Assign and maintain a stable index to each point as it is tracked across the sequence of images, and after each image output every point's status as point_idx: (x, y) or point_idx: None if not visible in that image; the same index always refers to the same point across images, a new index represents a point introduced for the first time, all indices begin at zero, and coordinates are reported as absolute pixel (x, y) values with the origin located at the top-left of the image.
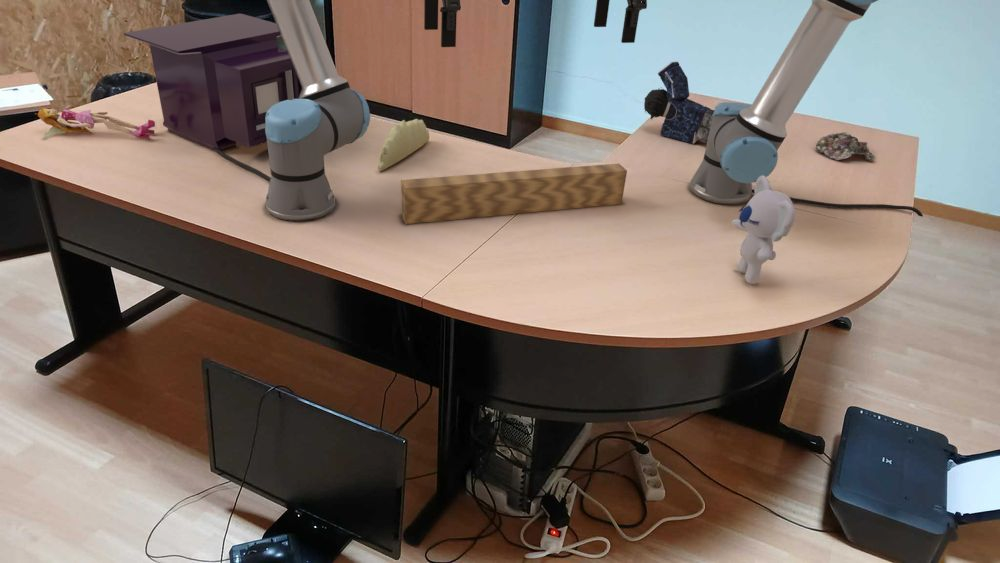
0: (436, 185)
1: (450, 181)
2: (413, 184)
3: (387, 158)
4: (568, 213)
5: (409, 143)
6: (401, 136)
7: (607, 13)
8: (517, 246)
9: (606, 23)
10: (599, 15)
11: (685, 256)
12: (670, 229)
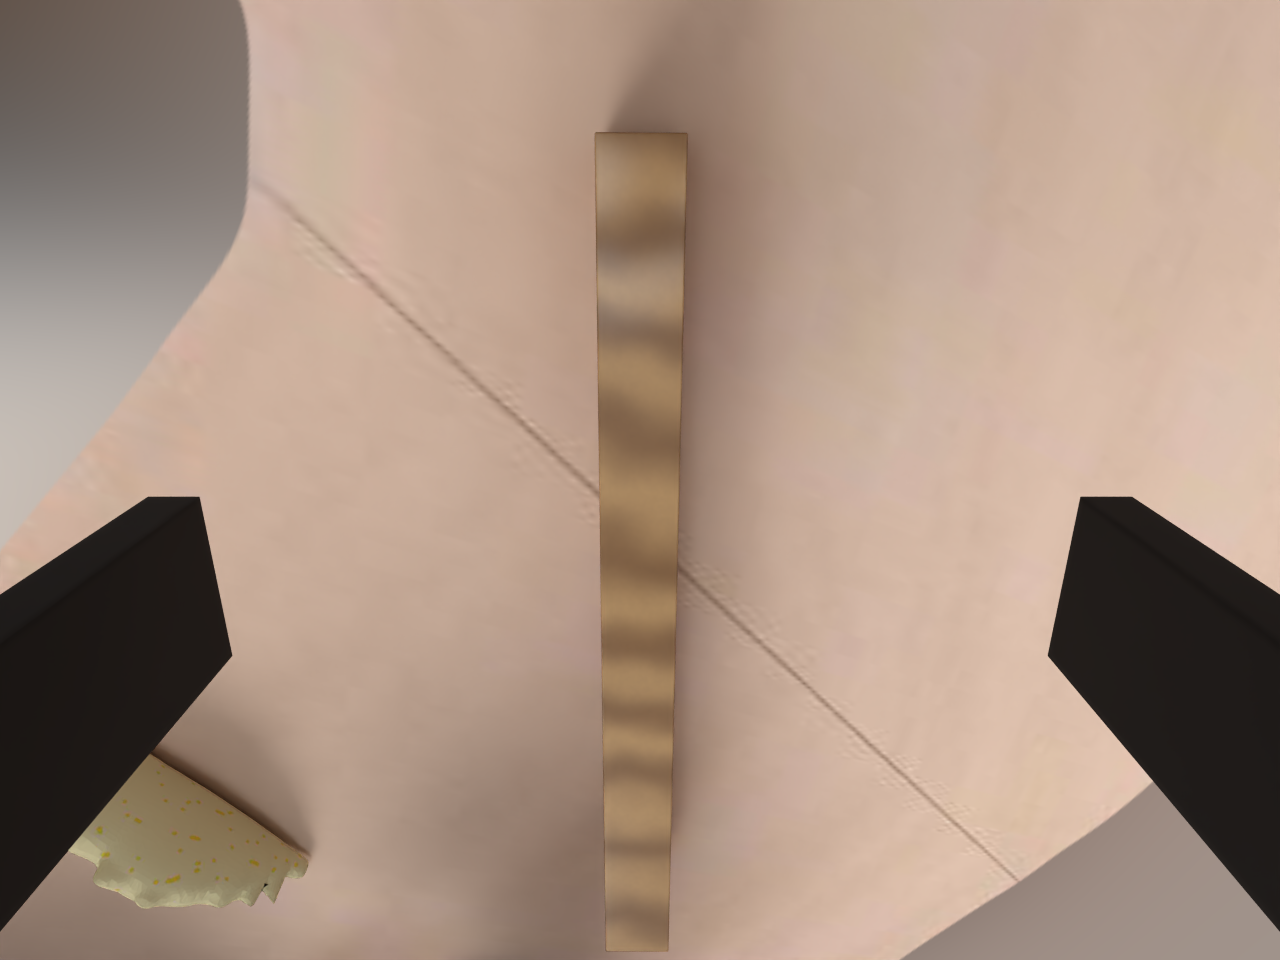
0: (667, 877)
1: (646, 836)
2: (646, 929)
3: (276, 869)
4: (708, 393)
5: (171, 808)
6: (186, 867)
7: (77, 600)
8: (873, 626)
9: (172, 517)
10: (130, 714)
11: (1146, 100)
12: (943, 38)
